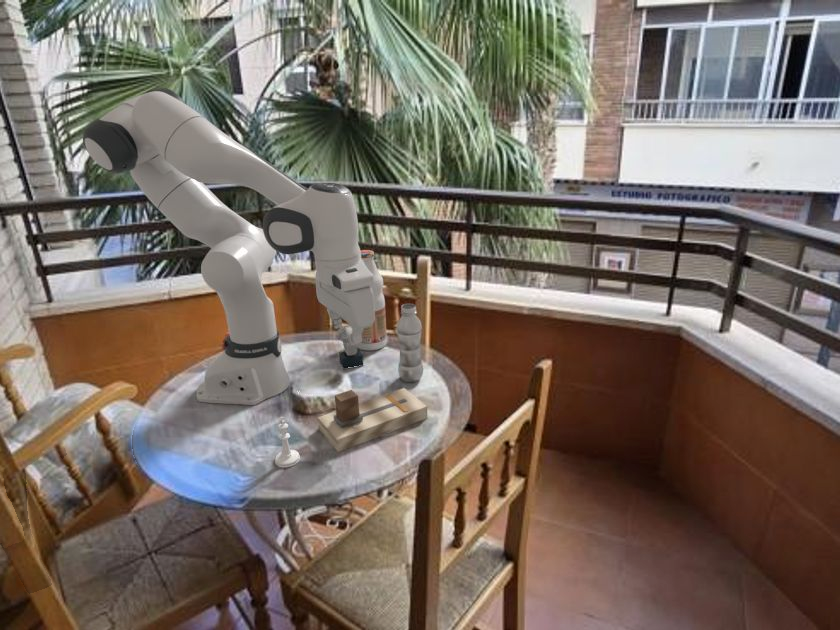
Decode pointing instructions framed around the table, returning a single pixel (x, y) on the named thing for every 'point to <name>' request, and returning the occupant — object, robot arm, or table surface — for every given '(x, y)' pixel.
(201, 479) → the table surface
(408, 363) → the plastic bottle
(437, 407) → the table surface
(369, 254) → the fruit juice
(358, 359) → the watch
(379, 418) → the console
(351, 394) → the slider
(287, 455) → the chess piece
